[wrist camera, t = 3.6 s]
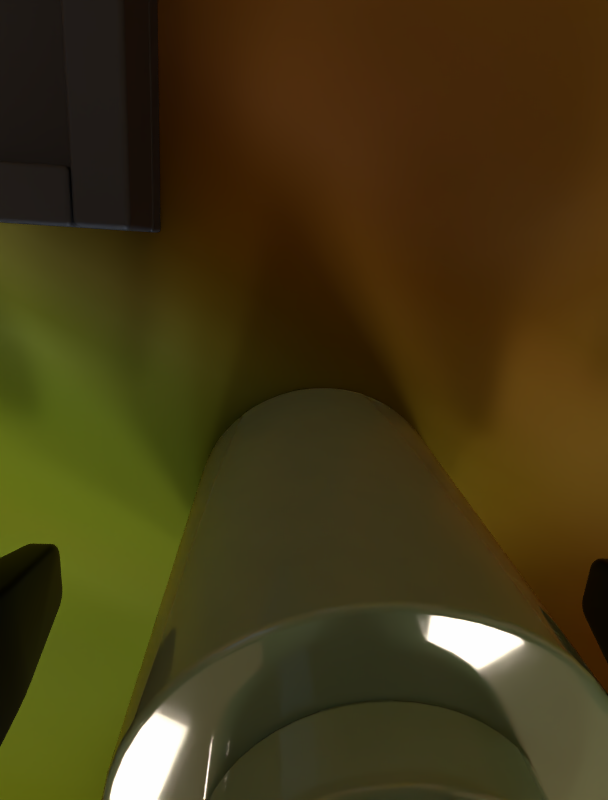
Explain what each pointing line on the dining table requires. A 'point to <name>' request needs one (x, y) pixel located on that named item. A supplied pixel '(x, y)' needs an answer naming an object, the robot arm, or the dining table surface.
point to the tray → (80, 114)
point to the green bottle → (351, 633)
